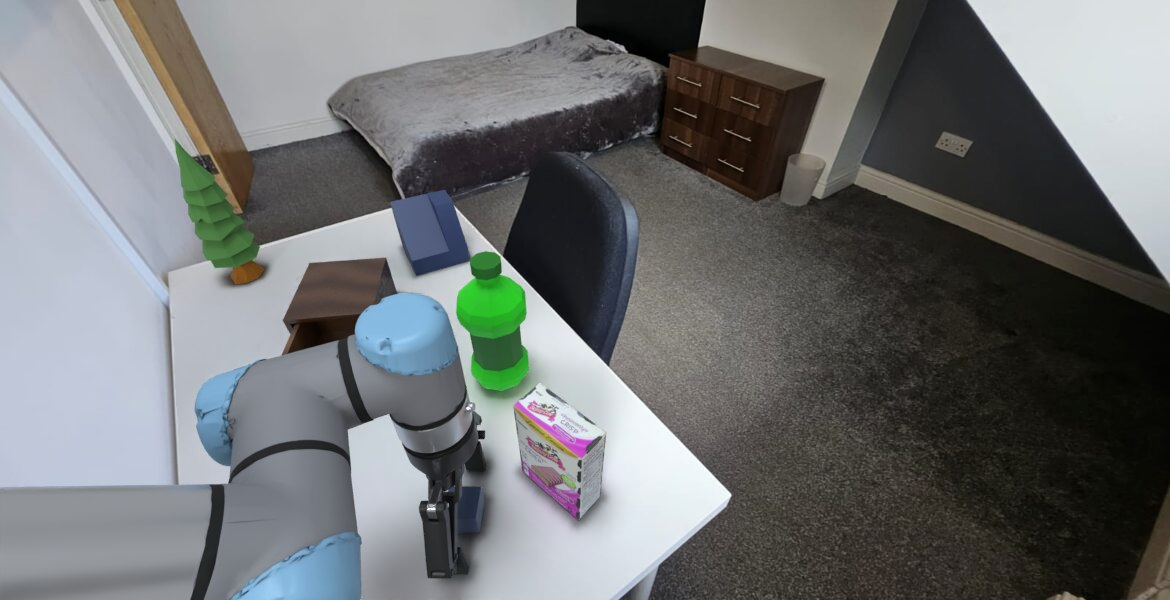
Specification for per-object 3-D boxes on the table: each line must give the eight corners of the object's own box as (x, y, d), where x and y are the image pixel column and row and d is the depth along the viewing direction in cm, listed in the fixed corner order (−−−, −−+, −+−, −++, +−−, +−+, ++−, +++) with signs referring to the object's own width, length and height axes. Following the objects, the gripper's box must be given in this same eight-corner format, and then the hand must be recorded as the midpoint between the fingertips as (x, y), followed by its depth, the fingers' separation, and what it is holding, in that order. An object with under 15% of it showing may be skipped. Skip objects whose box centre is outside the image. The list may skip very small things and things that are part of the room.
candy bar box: (519, 473, 67) (510, 404, 57) (544, 449, 70) (539, 379, 60) (578, 524, 62) (580, 459, 51) (602, 497, 65) (608, 429, 54)
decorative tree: (265, 285, 98) (188, 146, 78) (213, 293, 95) (121, 152, 76) (273, 258, 105) (204, 124, 85) (225, 265, 102) (142, 129, 83)
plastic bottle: (524, 406, 76) (512, 288, 60) (462, 396, 77) (433, 277, 61) (539, 360, 84) (532, 244, 67) (482, 352, 85) (461, 236, 68)
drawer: (367, 411, 74) (352, 379, 69) (281, 421, 72) (259, 389, 67) (386, 328, 88) (374, 296, 82) (314, 335, 86) (298, 302, 81)
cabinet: (386, 352, 84) (371, 312, 78) (304, 360, 83) (282, 320, 76) (398, 296, 96) (386, 257, 90) (327, 302, 94) (309, 262, 88)
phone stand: (416, 276, 101) (403, 228, 93) (403, 247, 109) (389, 201, 101) (469, 260, 106) (461, 214, 98) (453, 234, 114) (444, 189, 106)
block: (447, 532, 61) (441, 518, 58) (454, 501, 64) (449, 486, 61) (479, 533, 61) (475, 518, 58) (485, 501, 64) (481, 486, 62)
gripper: (446, 551, 39) (480, 626, 53) (491, 337, 58) (507, 434, 72) (356, 551, 39) (413, 625, 53) (430, 337, 58) (458, 433, 72)
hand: (467, 515), depth 63 cm, fingers open, 13 cm apart
